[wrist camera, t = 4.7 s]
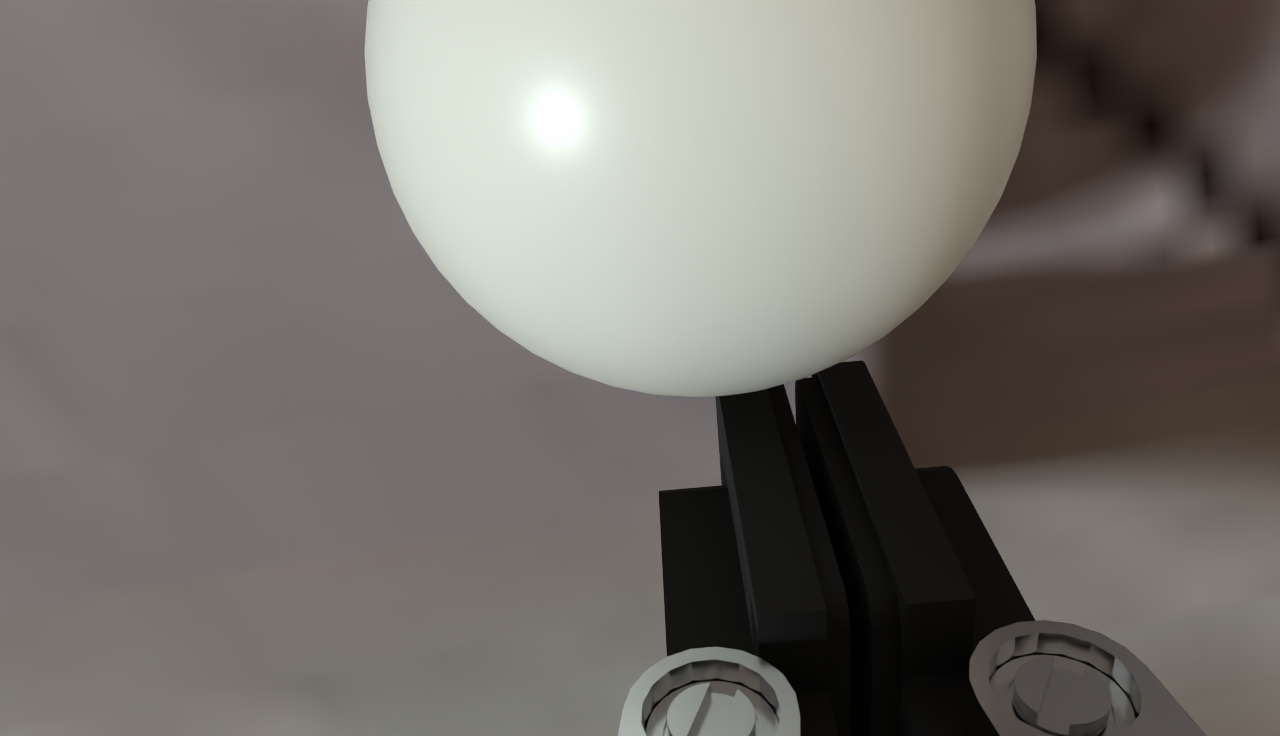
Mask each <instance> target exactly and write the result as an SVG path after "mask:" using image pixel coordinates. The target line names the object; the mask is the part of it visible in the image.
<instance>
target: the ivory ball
mask: <svg viewBox="0 0 1280 736" xmlns="http://www.w3.org/2000/svg"><path fill="white" fill-rule="evenodd" d="M1036 59H1037V40H1036V6H1035V0H369V1H368V7H367V22H366V36H365V66H366V81H367V95H368V102H369V107H370V112H371V116H372V121H373V126H374V131H375V136H376V141H377V145H378V149H379V152H380V155H381V158H382V161H383V164H384V167H385V170H386V172H387V175H388V178H389V181H390V184H391V187H392V190H393V193H394V195H395V197H396V199H397V201H398V203H399V205H400V207H401V209H402V211H403V213H404V215H405V217H406V219H407V221H408V223H409V225H410V227H411V229H412V231H413V233H414V235H415V236H416V237H417V239H418V240H419V242H420V243H421V245H422V246H423V248H424V249H425V251H426V252H427V254H428V255H429V257H430V258H431V260H432V261H433V263H434V264H435V266H436V267H437V269H438V270H439V271H440V272H441V273H442V275H443V276H444V277H445V278H446V279H447V280H448V281H449V283H450V284H451V285H452V286H453V287H454V288H455V289H456V291H457V292H458V293H459V294H460V295H461V296H462V297H463V299H464V300H465V301H466V302H467V303H468V304H470V305H471V306H472V307H473V308H474V309H475V310H476V311H477V312H479V313H480V314H481V315H482V316H483V317H484V318H485V319H487V320H488V321H489V322H490V323H491V324H492V325H493V326H495V327H496V328H497V329H498V330H499V331H501V332H502V333H504V334H505V335H507V336H508V337H510V338H511V339H513V340H514V341H516V342H517V343H519V344H520V345H522V346H523V347H525V348H526V349H528V350H529V351H531V352H532V353H534V354H536V355H538V356H540V357H542V358H544V359H546V360H548V361H550V362H552V363H554V364H556V365H558V366H560V367H562V368H564V369H566V370H568V371H570V372H572V373H575V374H578V375H581V376H584V377H587V378H590V379H592V380H595V381H598V382H601V383H604V384H607V385H610V386H614V387H619V388H624V389H629V390H634V391H639V392H644V393H649V394H655V395H670V396H688V397H713V396H725V395H734V394H742V393H749V392H755V391H760V390H764V389H768V388H771V387H775V386H778V385H782V384H785V383H789V382H792V381H796V380H799V379H803V378H806V377H808V376H810V375H813V374H815V373H817V372H819V371H822V370H824V369H826V368H828V367H831V366H833V365H835V364H837V363H840V362H842V361H844V360H846V359H848V358H850V357H852V356H853V355H855V354H857V353H858V352H860V351H861V350H863V349H865V348H866V347H868V346H870V345H871V344H873V343H875V342H876V341H878V340H879V339H881V338H883V337H884V336H886V335H887V334H888V333H889V332H891V331H892V330H893V329H894V328H896V327H897V326H898V325H899V324H901V323H902V322H903V321H904V320H905V319H907V318H908V317H909V316H910V315H912V314H913V313H914V312H915V311H917V310H918V309H919V308H920V307H921V306H922V305H923V304H924V303H925V302H926V301H927V300H928V299H929V298H930V297H931V296H932V295H933V294H934V292H935V291H936V290H937V289H938V288H939V287H940V286H941V285H942V284H943V283H944V282H945V281H946V280H947V279H948V278H949V277H950V276H951V274H952V273H953V272H954V270H955V269H956V268H957V266H958V265H959V264H960V262H961V261H962V260H963V258H964V257H965V256H966V254H967V253H968V251H969V250H970V249H971V247H972V246H973V245H974V243H975V242H976V241H977V239H978V238H979V236H980V234H981V233H982V231H983V229H984V227H985V225H986V224H987V222H988V220H989V218H990V216H991V215H992V213H993V211H994V209H995V207H996V206H997V204H998V202H999V200H1000V198H1001V197H1002V194H1003V192H1004V189H1005V187H1006V184H1007V182H1008V179H1009V177H1010V174H1011V172H1012V169H1013V166H1014V164H1015V161H1016V159H1017V156H1018V154H1019V151H1020V147H1021V143H1022V139H1023V135H1024V132H1025V128H1026V124H1027V120H1028V116H1029V112H1030V108H1031V103H1032V94H1033V86H1034V77H1035V68H1036Z"/></svg>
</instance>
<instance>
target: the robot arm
mask: <svg viewBox="0 0 1280 736" xmlns="http://www.w3.org/2000/svg"><path fill="white" fill-rule="evenodd" d="M795 404H796V424H795V421H794V417H793V414H792V411H791V407H790V404H789V400H788V397H787V394H786V390H785V387H784V384H782V385H778V386H775V387H771V388H768V389H764V390H760V391H755V392H749V393H742V394H734V395H725V396H716V409H717V424H718V438H719V453H720V467H721V481H722V486H711V487H700V488H688V489H677V490H665V491H659V506H660V526H661V546H662V565H663V585H664V605H665V625H666V644H667V657H666V658H664V659H663V660H661V661H659V662H658V663H656V664H655V665H653V666H652V667H650V668H649V669H647V670H646V671H645V672H644V673H643V674H642V676H641V677H640V678H639V679H638V680H637V681H636V682H635V684H634V685H633V686H632V687H631V689H630V692H629V695H628V697H627V700H626V702H625V705H624V707H623V712H622V717H621V722H620V727H619V733H618V736H1207V735H1206V734H1205V733H1204V732H1203V731H1202V730H1201V729H1200V727H1199V726H1198V725H1197V724H1196V723H1195V722H1194V720H1193V719H1192V718H1191V717H1190V716H1189V715H1188V714H1187V712H1186V711H1185V710H1184V709H1183V708H1182V707H1181V705H1180V704H1179V703H1178V702H1177V701H1176V700H1175V699H1174V697H1173V696H1172V695H1171V694H1170V693H1169V692H1168V690H1167V689H1166V688H1165V687H1164V686H1163V685H1162V683H1161V682H1160V681H1159V680H1158V679H1157V678H1156V677H1155V675H1154V674H1153V673H1152V672H1151V671H1150V670H1149V668H1148V667H1147V666H1146V665H1145V664H1144V663H1142V662H1141V661H1140V660H1139V659H1138V658H1137V657H1136V656H1135V655H1134V654H1132V653H1131V652H1130V651H1129V650H1128V649H1127V648H1126V647H1124V646H1122V645H1120V644H1119V643H1117V642H1115V641H1113V640H1111V639H1110V638H1108V637H1106V636H1104V635H1103V634H1101V633H1098V632H1095V631H1092V630H1089V629H1086V628H1083V627H1080V626H1077V625H1074V624H1069V623H1062V622H1054V621H1047V620H1039V621H1035V619H1034V617H1033V615H1032V614H1031V612H1030V610H1029V608H1028V606H1027V604H1026V602H1025V601H1024V599H1023V597H1022V595H1021V593H1020V591H1019V589H1018V588H1017V586H1016V584H1015V582H1014V580H1013V578H1012V576H1011V575H1010V573H1009V571H1008V569H1007V567H1006V565H1005V563H1004V561H1003V560H1002V558H1001V556H1000V554H999V552H998V550H997V548H996V547H995V545H994V543H993V541H992V539H991V537H990V535H989V534H988V532H987V530H986V528H985V526H984V524H983V522H982V521H981V519H980V517H979V515H978V513H977V511H976V509H975V508H974V506H973V504H972V502H971V500H970V498H969V496H968V495H967V493H966V491H965V489H964V487H963V485H962V483H961V482H960V480H959V478H958V476H957V475H956V473H955V472H954V470H953V469H952V468H950V467H948V466H941V467H929V468H918V469H915V468H914V466H913V464H912V462H911V460H910V457H909V455H908V453H907V451H906V449H905V447H904V445H903V443H902V441H901V438H900V436H899V434H898V432H897V430H896V428H895V426H894V424H893V422H892V419H891V417H890V415H889V413H888V411H887V409H886V407H885V405H884V403H883V400H882V398H881V396H880V394H879V392H878V390H877V388H876V386H875V384H874V381H873V379H872V377H871V375H870V373H869V371H868V369H867V367H866V365H865V363H864V362H863V361H851V362H840V363H837V364H835V365H833V366H831V367H828V368H826V369H824V370H822V371H819V372H817V373H815V374H813V375H812V378H803V379H799V380H796V384H795Z"/></svg>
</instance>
